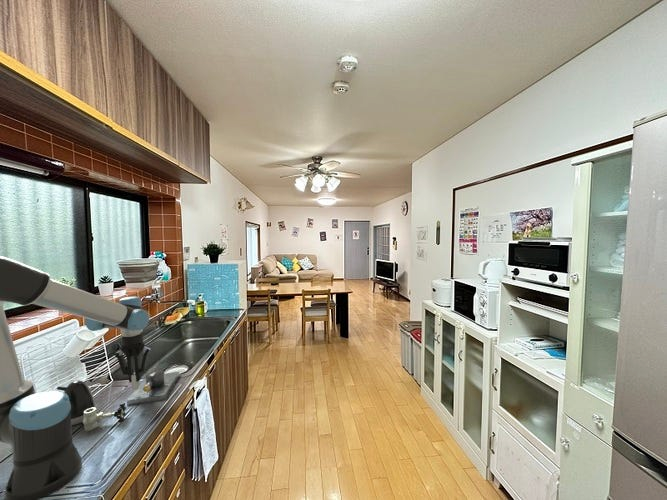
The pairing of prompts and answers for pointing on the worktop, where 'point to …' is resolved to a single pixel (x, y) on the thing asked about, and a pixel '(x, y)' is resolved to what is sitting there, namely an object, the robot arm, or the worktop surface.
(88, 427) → the valve
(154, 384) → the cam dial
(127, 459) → the worktop surface
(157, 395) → the stand base
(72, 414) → the pump dispenser
